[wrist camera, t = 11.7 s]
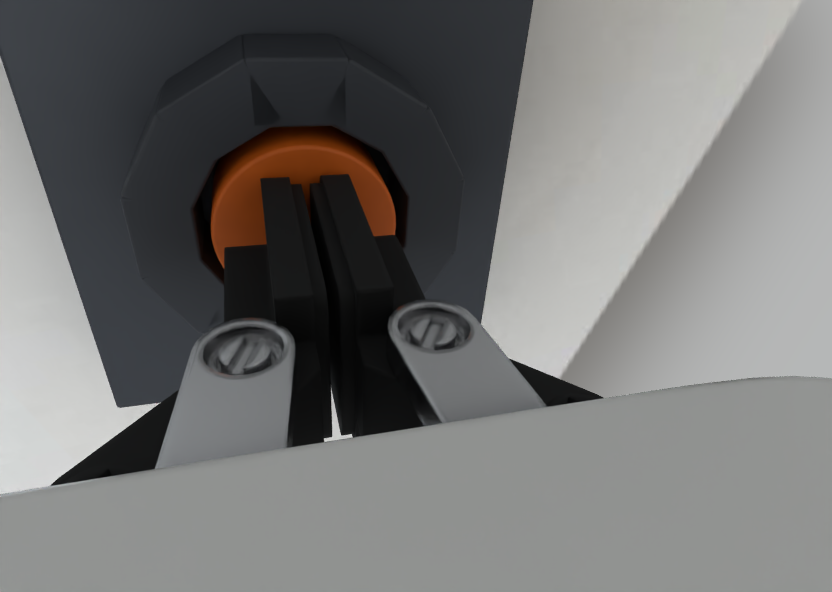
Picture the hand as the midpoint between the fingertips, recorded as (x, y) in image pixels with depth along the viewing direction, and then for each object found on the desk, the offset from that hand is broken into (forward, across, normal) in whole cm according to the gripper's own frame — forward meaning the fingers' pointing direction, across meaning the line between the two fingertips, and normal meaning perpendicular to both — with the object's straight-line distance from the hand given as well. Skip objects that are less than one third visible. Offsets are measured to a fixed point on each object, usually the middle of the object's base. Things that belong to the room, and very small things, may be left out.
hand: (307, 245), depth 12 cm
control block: (+4, 0, 0) cm, 4 cm away
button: (+2, 0, 0) cm, 2 cm away
